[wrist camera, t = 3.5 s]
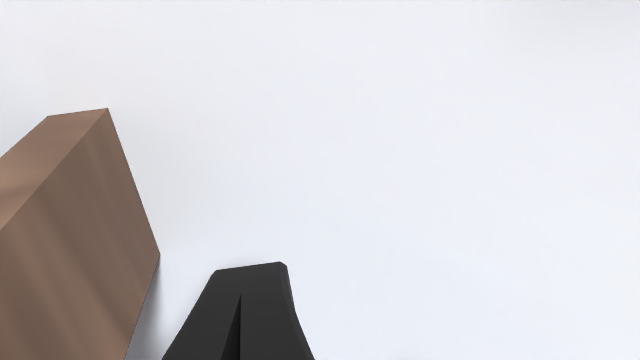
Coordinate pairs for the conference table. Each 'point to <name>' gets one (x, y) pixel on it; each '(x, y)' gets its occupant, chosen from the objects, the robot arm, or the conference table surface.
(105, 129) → the brown wooden block
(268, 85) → the conference table surface
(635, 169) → the conference table surface
